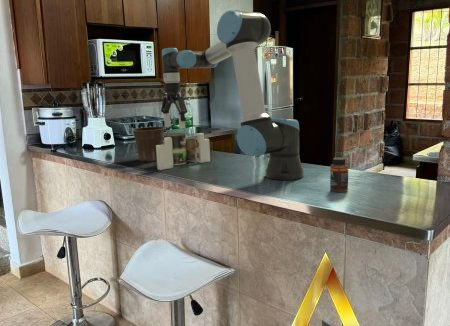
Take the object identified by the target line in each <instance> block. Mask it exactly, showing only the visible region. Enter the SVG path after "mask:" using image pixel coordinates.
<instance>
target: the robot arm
mask: <svg viewBox="0 0 450 326" xmlns="http://www.w3.org/2000/svg"><path fill="white" fill-rule="evenodd" d="M271 33H272V28H271V23H270V20H269V19H268V17H267V16H265V14H262V13H261V12H257V11H256V12H254V11H253V12H252V11H243V10H239V9H235V10H233V9H231V10H227V11H225V12H224V13H222V15H221V16H220V18H219V21H218V22H217V26H216V35H217V38H218V40H219V42H217V43H216V44H214V45H212V46H210V47H208V48H207V49H205V50H202V51H200V50H199V51H198V50H196V51H195V50H193V51H192V50H189V49H186V50H185V49H183V50H180V51H179V50H178V48H177V47H165V48H163V49H162V50H161V62H162V63H161V65H162V73H163V74H162V75H163V76H162V77H163V82H164V83H163V90H164V93H162V102H161V107H160V112H161V113H163V122H164V128H170V127H171V116H170V110H171V107H172V104H174V105H175V107H176V109H177V111H178V129H180V130H182V129H186V122H185V121H186V116H185V115H186V114H187V113H188V110H187V106H186V105H187V104H186V103H185V99H184V97H183V96H184V95H183V92H180V91H181V83H180V82H181V80H180V79H181V78H180V69H212V68H213V69H214V68H216V67H217V66H218V65H219V62H222V61H224V60H226V59H228V58H230V57H231V58H232V62H233V68H234V75H235V79H236V84H237V90H238V94H239V99H240V101H239V102H240V105H241V110H242V116H243V117H242V119H241V121H240V127H239V128H238V130H237V133H236V142H237V145H238V147H239V149H240V150H241V152H242V153H244V154H245V155H246V156H250V157H259V156H260V157H261V156H263V155H269V159H268V163H267V166H266V169H265V177H266V178H268V179H271V180H277V181H291V180H298V179H302V178H303V177H304V175H305V173H304V169H303V166H302V163H301V159H300V124H299V121H298V119H288V118H275V117H274V118H272V117H271V115H269V114H268V113H267V111H266V105H265V100H264V94H263V90H262V83H261V79H260V73H259V68H258V67H259V66H258V62H257V58H256V52H255V49H256V47H258V46H260V45H262V44H264V43H265V42H266V41H267V40H268V39H269V38H270V35H271Z"/></svg>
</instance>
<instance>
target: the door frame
mask: <svg viewBox="0 0 450 326" xmlns="http://www.w3.org/2000/svg"><path fill="white" fill-rule="evenodd" d="M210 146H211V145H210V139H209V138H205V133H202V132H200V133H196V148H197V161H198V163H199V164H200V163H201V164H202V163H208V162H211V150H210ZM156 154H157V161H156V167H157V170H158V171H162V170H163V171H164V170H168V169H173V168H174V165H173V157H172V140H171V138H170V137H166V138H164V137H163V145H156Z"/></svg>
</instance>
